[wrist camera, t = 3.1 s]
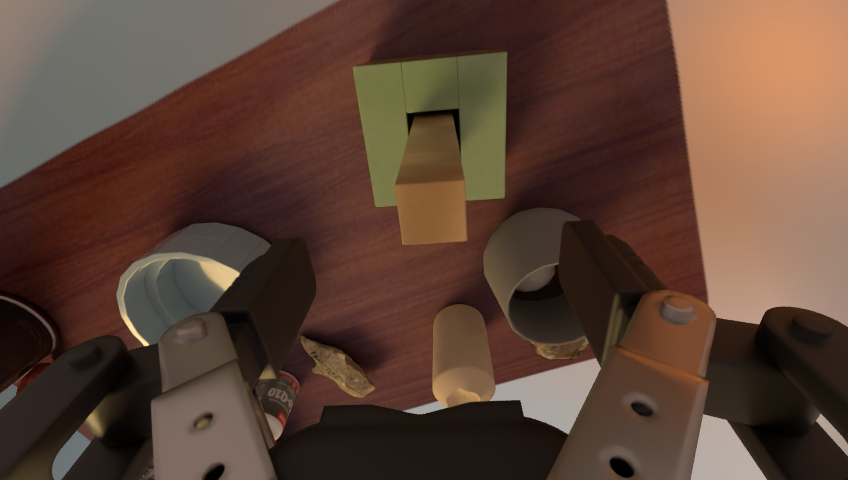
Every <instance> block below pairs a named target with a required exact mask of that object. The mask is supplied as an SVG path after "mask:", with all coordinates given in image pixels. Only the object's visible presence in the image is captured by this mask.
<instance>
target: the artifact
mask: <svg viewBox="0 0 848 480" xmlns="http://www.w3.org/2000/svg"><path fill="white" fill-rule="evenodd" d="M301 340H302V345H303V347H304V349H305V350H306V352H307V353H308V354H309V355H310V356H311V357H312V358H313V359H314V360H315V363H316V366H315V367H314V368H313V369H312V371H313V372H314V373H315V374H322V375H324V376H326V377H328V378H330V379H332V380H334V381H335V382H336V383H338V385H339V388H341V389H342V390H344V391H345V392H347V393H349V394H350V395H352V396H356V397H359V398H361V397H364V396H366V395H367V394H369V393H370V392H372V391H373V390H375V387H374V384H373V383H372V382H371V381H370V380H369V379H368V377H367V376H366V375H365V374H364V372H363V370H362V369H361V367H360V366H359V365H358V364H356V363H354V362H353V361H352V359H351V357H349V356H348V355H347V354H346V353H344V352H343V351H342V350H340V349H338V348H336V347H332V346H327V345H323V344H320V343H319V342H316V341H312V340H309V339H307V338H305V337H304V336H301Z"/></svg>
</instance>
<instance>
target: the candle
mask: <svg viewBox="0 0 848 480" xmlns="http://www.w3.org/2000/svg"><path fill="white" fill-rule="evenodd" d="M433 393H434V396H435V397H436V399H437V400H438V401H439V402H441V403H442V404H443V405H445V406H446V407H447V408H449V407H453V406H456V405H460V404H464V403H468V402H477V401H489V400H490V399H491V398H492V397H493V395H494V393H495V381H494V375H493V369H492V363H491V357H490V351H489V345H488V338H487V332H486V327H485V322H484V319H483V316H482V315H481V313H480V312H479V311H478V310H477V309H475V308H474V307H471V306H469V305H464V304H455V305H450V306H448V307H445V308H444V309H442V310H441V311H440V312H439V313H438V314H437V316H436V318H435V320H434V329H433Z"/></svg>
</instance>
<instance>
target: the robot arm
mask: <svg viewBox="0 0 848 480" xmlns="http://www.w3.org/2000/svg"><path fill="white" fill-rule="evenodd" d="M558 274H559V281H560V284H561V287H562V289H563V291H564V293H565V295H566V297H567V299H568V301H569V303H570V305H571V307H572V309H573V311H574V314H575V316H576V318H577V320H578V322H579V324H580V326H581V328H582V330H583V332H584V334H585V336H586V338H587V340H588V342H589V344H590V346H591V348H592V351H593V353H594V355H595V357H596V359H597V361H598V363H599V365H600V367H601V370H600V372H599V374H598V376H597V378H596V380H595V382H594V384H593V386H592V388H591V390H590V392H589V394H588V396H587V398H586V400H585V402H584V404H583V406H582V408H581V410H580V412H579V414H578V417H577V418H576V421H575V423H574V425H573V427H572V429H571V431H570V433H569V435H568V434H566V433H565V432H563V431H561V430H559V429H558V428H555V427H553V426H551V425H549V424H547V423H544V422H541V421H538V420H535V419H532V418H527V417H524V415H523V411H522V406H521V402H520V400H511V401H477V402H468V403H464V404H460V405H456V406H453V407H449V408H445V409H441V410H438V411H434V412H430V413H426V414H412V413H407V412H403V411H398V410H394V409H389V408H385V407H380V406H375V405H339V406H324V409H323V412H322V415H321V419H320V422H319V423H316V424H313V425H310V426H308V427H305V428H303V429H301V430H299V431H297V432H295V433H293V434H291V435H289V436H287V437H286V438H284V439H283V440H281V441H279V442H278V443H277V444H276V441H275V439H274V436H273V433H272V431H271V428H270V425H269V423H268V420H267V417H266V415H265V412H264V409H263V407H262V404H261V401H260V399H259V396H258V394H257V391H256V389H255V386H256V384H257V382H258V380H259V379H277V377H278V375H279V372H280V370H281V368H282V366H283V364H284V362H285V360H286V358H287V355H288V353H289V351H290V349H291V347H292V345H293V343H294V340H295V338H296V336H297V334H298V332H299V330H300V328H301V325H302V323H303V321H304V319H305V317H306V315H307V313H308V310H309V308H310V306H311V304H312V302H313V300H314V297H315V294H316V279H315V275H314V272H313V268H312V265H311V261H310V257H309V254H308V250H307V247H306V243H305V241H304V240H303V238H301V237H299V238H283V239H276V240H275V241H274V242H273V244H272V245H271V246H270V248H269V249H268V250H267V251H266V253H265V254H264V255H260V256H259V257H258V258H256V259H255V260H253V261H252V262H250V263H249V264H247V265H246V267H245V268H244V269H243V270H242V271H241V273H240V274H239V277H237V278H236V279H235V280H234V281H233V282H232V286H229V287H228V288H227V290H226V291H225V292H224V293H223V294H222V296H221V297H220V298H219V299H218V301H217V302H216V303H215V304H214V305H213V307H212V308H211V309H210V310H209V311H208V312H203V313H198V314H195V315H192V316H189V317H187V318H184V319H182V320H180V321H179V322H177V323H175V324H174V325H172V326H171V327H170V328H169V329H167V330H166V331H165V332H164V334H163V335H162V336H161V338H160V340H159V343H156V344H152V345H148V346H144V347H140V348H136V349H132V350H128V349H127V347H126V346H125V344H124V342H123V341H122V339H121V338H120V337H117V336H102V337H98V338H94V339H91V340H88V341H86V342H83V343H81V344H79V345H77V346H75V347H73V348H71V349H70V350H68V351H66V352H65V353H63V354H62V355H61V356H59V357H58V358H57V359H56V360H55V361H53V362H52V363H51V364H50V365H49V366H48V367H47V368H46V369H45V370H44V371H42V372H41V373H40V374H39V375H38V376H37V377H36V378H35V379H34V380H33V381H31V382H30V383H29V384H28V385H27V386H26V387H25V388H24V389H23V390H21V391H20V392H19V393H18V394H17V395H16V396H15V397H14V398H13V399H12V400H11V401H10V402H8V403H7V404H6V405H5V406H4V407H3V408H2V409H1V410H0V480H54V479H53V476H52V465H53V462H54V459H55V457H56V455H57V453H58V452H59V451H60V449H61V448H62V447H63V446H64V445H65V443H66V442H67V441H68V440H69V439H70V438H71V436H72V435H73V434H74V433H75V432H76V431H77V429H78V428H79V427H80V426H81V425H82V424H83V422H84V423H85V424H86V425H87V427H88V428H89V429H90V430H91V431H92V433H93V434H94V435H95V436H96V437H95V438H94V439H93V440H92V442H91V443H90V444H89V446H88V447H87V448H86V449H85V451H84V452H83V453H82V454H81V456H80V457H79V458H78V460H77V461H76V462H75V463H74V465H73V466H72V467H71V469H70V470H69V471H68V472H67V473H66V475H65V476H64V477H63V478H62V480H139V479H140V477H141V476H142V474H143V472H144V471H145V469H146V468H147V466H148V464H149V463H150V461H151V459H152V458H153V457H154V478H155V480H690V479H691V474H692V469H693V463H694V458H695V453H696V448H697V443H698V437H699V432H700V427H701V422H702V416H703V414H705V415H709V416H713V417H717V418H722V419H726V420H727V421H728V422H729V424H730V425H731V427H732V428H733V430H734V431H735V433H736V434H737V436H738V437H739V439H740V440H741V442H742V443H743V445H744V446H745V447H746V449H747V450H748V452H749V453H750V455H751V456H752V458H753V459H754V461H755V462H756V464H757V465H758V467H759V468H760V470H761V471H762V473H763V474H764V476H765V477H766V479H767V480H848V456H847V455H846V454H845V453H844V452H843V451H842V449H841V448H840V447H839V446H838V445H837V444H836V443H835V442H834V441H833V439H831V437H830V436H829V435H828V434H827V433H826V432H825V431H824V429H823V428H822V427H820V425H819V424H818V423H817V422H816V420H817V418H818V417H819V415H820V414H822V415H823V416H824V417H825V418H826V419H827V420H828V421H829V422H830V423H831V424H832V425H833V427H834V428H835V429H836V430H837V431H838V432H839V433H840V434H841V435H842V436H843V438H844V439H845V440H846V442H847V443H848V327H846V326H845V325H843V324H841V323H840V322H838V321H836V320H834V319H832V318H830V317H827V316H825V315H823V314H820V313H816V312H814V311H810V310H806V309H801V308H795V307H775V308H771V309H769V310H767V311H766V312H765V314H764V316H763V318H762V320H761V322H760V324H752V323H745V322H739V321H733V320H726V319H720V318H716V315H715V313H714V311H713V310H712V309H711V308H710V307H709V306H708V305H707V304H705V303H704V302H702V301H701V300H699V299H697V298H695V297H693V296H690V295H688V294H684V293H681V292H677V291H671V290H668V289H667V288H666V286H665V285H664V284H663V283H662V282H661V281H660V280H659V279H658V278H657V276H656V275H655V274H654V273H653V272H652V271H651V270H650V269H649V268H648V266H647V265H646V264H644V263H643V261H642V260H641V259H640V258H639V256H636V253H635V252H634V251H633V250H632V249H631V247H630V246H629V245H628V244H627V243H625V242H624V241H622V240H620V239H618V238H616V237H614V236H613V235H604V234H603V232H602V231H601V230H600V229H599V227H598V226H597V225H596V224H595V223H594V221H592V220H580V221H566V222H564V224H563V227H562V235H561V244H560V254H559V264H558ZM59 342H60V336H59V332H58V330H57V328H56V326H55V325H54V323H53V322H52V321H51V320H50V319H49V317H48V316H47V315H45V314H44V313H43V312H42V311H41V310H39V309H38V308H37V307H35V306H34V305H32V304H30V303H29V302H27V301H25V300H23V299H20V298H18V297H16V296H13V295H10V294H6V293H1V292H0V393H1V392H3V391H4V390H5V389H7V388H8V387H9V386H10V385H11V384H13V383H14V382H15V381H16V380H18V379H19V378H20V377H21V376H23V375H24V374H25V373H26V372H27V371H29V370H30V369H31V368H32V367H33V368H34V366H35V365H36V364H37V363H38V362H40V361H41V360H42V359H43V358H44V357H47V356H48V355H49V354H51V353H52V352H53V351H54V350H56V348H57V347H58V346H59ZM33 368H32V369H33ZM27 373H28V372H27ZM27 373H26V374H27ZM26 374H25V375H26ZM25 375H24V376H25ZM24 376H23V377H24ZM23 377H22V378H23ZM19 380H20V379H19ZM19 380H18V381H19ZM18 381H17V382H18ZM17 382H16V383H17Z"/></svg>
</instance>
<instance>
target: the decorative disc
mask: <svg viewBox="0 0 848 480" xmlns="http://www.w3.org/2000/svg"><path fill="white" fill-rule="evenodd" d="M530 342H531V341H530ZM588 343H589V342H588V340H587V338H583V339H581V340H579V341H577V342H575V343H569V344H564V345H558V346H552V345H539V344H536V343H533V342H531V344H532V346H534V347H535V348H536V349H535V350H536V352H537V354H538V355H539V356H540V357H542V358H544V359H546V360H551V359H552V358H560V359H561V358H564V359H565V360H567V359H569V360H574V358H577V357H579V356H580V355H581V353H583V351H584V349H585V348H586V347H587V346H588Z"/></svg>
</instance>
